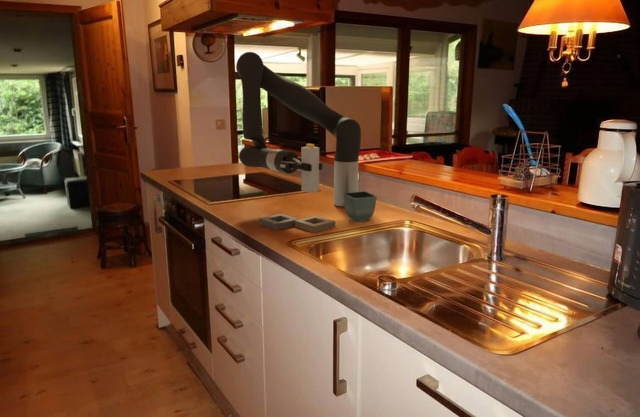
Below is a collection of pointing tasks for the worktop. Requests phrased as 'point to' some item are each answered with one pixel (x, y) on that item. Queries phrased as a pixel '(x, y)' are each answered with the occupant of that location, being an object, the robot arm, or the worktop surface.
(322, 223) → the socket
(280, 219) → the socket
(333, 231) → the worktop surface
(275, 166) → the robot arm
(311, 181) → the plug
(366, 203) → the flower pot
